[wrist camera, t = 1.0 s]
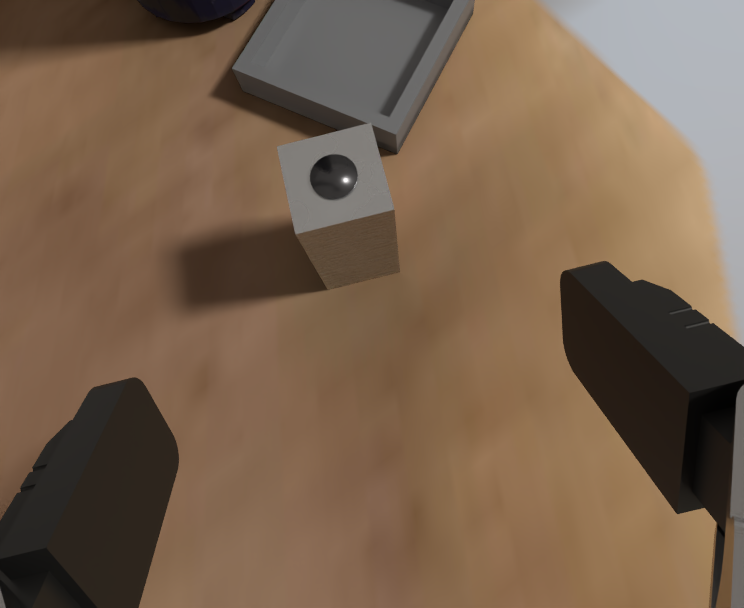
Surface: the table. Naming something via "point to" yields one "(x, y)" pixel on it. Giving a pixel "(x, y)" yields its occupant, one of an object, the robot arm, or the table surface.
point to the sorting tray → (353, 60)
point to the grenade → (196, 9)
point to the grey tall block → (341, 205)
